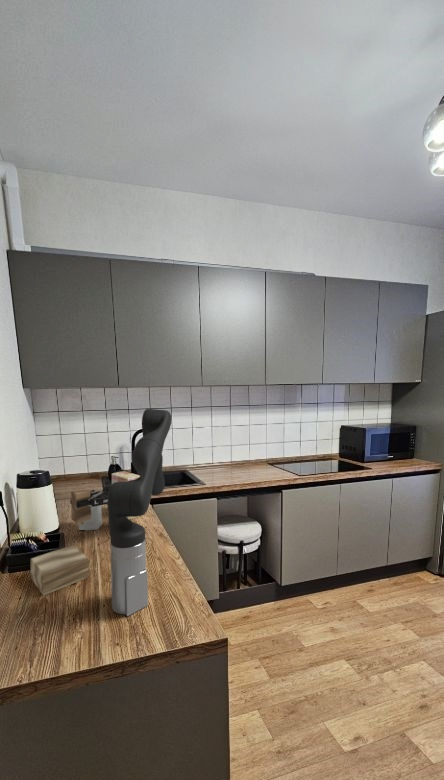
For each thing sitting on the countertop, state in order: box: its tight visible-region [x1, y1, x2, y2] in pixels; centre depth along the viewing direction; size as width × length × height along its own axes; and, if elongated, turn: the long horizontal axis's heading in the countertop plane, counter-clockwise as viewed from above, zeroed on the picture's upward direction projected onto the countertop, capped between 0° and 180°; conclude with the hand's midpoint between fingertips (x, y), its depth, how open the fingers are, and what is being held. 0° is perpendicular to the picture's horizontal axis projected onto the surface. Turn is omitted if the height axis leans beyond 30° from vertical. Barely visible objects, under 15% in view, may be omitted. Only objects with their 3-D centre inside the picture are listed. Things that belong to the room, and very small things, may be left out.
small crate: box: [70, 488, 91, 524], centre depth 120 cm, size 5×5×10 cm
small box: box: [78, 505, 103, 531], centre depth 142 cm, size 8×6×13 cm
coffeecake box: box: [111, 470, 140, 520], centre depth 156 cm, size 15×7×20 cm, turn 46°
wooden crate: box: [30, 544, 91, 596], centre depth 103 cm, size 14×14×6 cm
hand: (73, 503), depth 118 cm, fingers closed on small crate, 5 cm apart
